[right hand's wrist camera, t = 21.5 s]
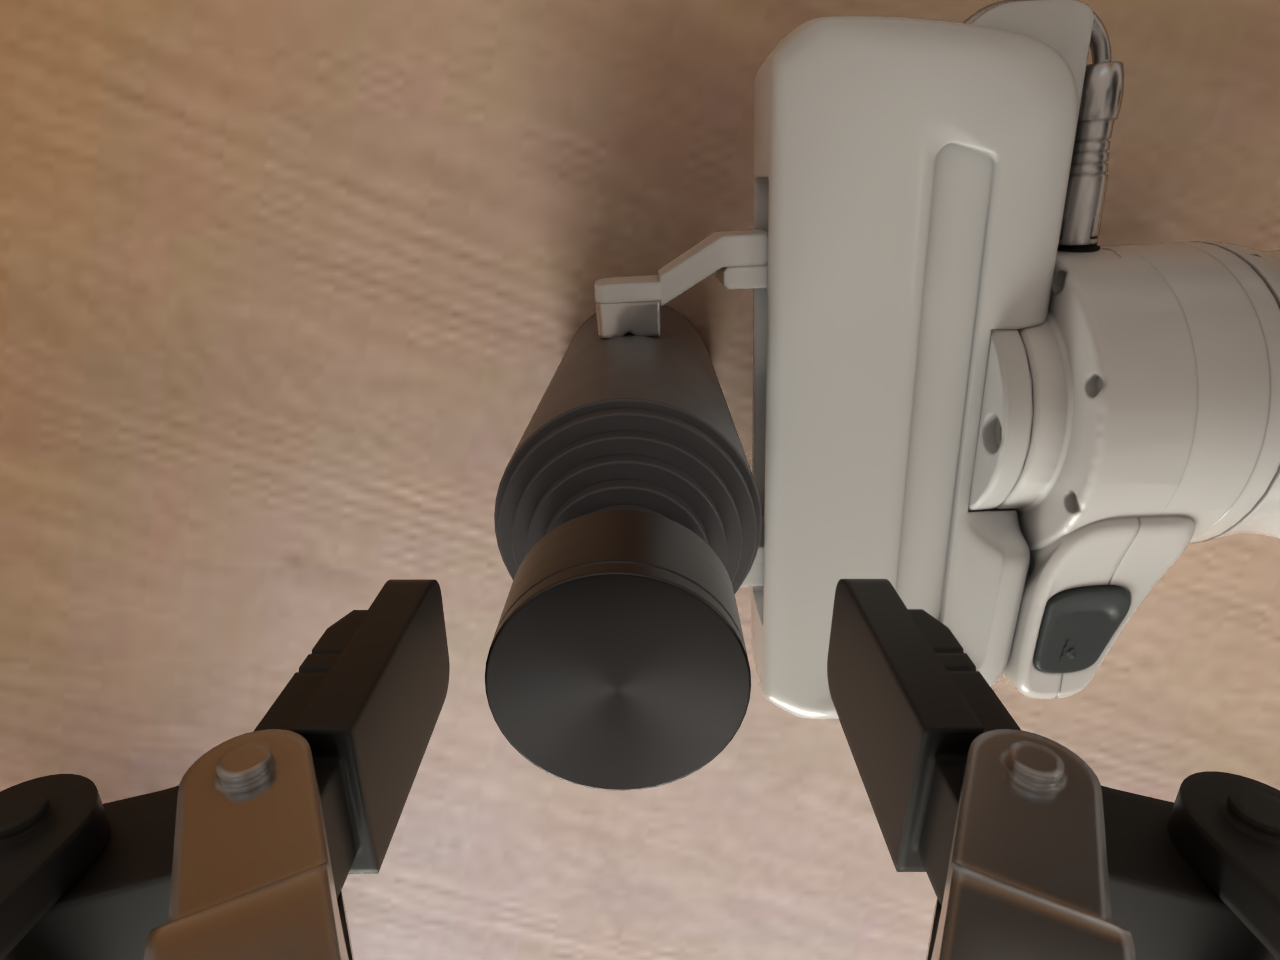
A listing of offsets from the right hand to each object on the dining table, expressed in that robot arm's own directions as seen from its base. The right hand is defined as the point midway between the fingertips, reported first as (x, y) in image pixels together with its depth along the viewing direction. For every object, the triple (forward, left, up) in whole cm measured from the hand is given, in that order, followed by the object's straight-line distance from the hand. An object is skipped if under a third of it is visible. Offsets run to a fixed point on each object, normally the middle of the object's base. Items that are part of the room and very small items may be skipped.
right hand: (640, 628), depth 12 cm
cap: (0, 0, +1) cm, 1 cm away
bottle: (0, 0, -17) cm, 17 cm away
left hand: (-1, 0, -11) cm, 11 cm away
